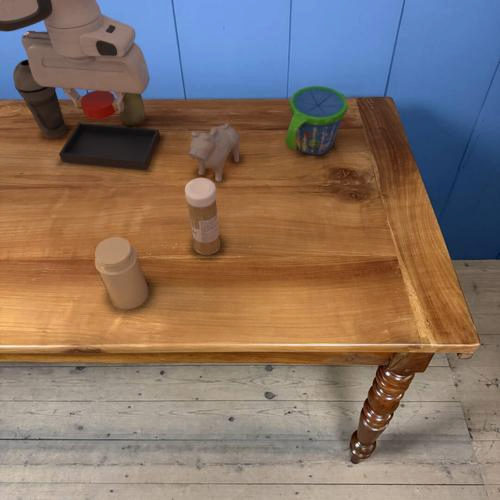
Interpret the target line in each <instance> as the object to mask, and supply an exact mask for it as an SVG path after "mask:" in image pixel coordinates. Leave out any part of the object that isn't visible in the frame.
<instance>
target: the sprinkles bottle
mask: <svg viewBox="0 0 500 500" xmlns="http://www.w3.org/2000/svg"><path fill="white" fill-rule="evenodd" d="M217 194H218V193H217V187H216V184H215V182H214V181H213V180H211V179H209V178H207V177H206V178H205V177H197V178H193V179H191V180H189V181H188V182H187V183H186V185H185V187H184V195H185V200H186V202H187V207H188V212H189V213H188V215H189V221H190V229H191V235H192V239H193V249H194V251H195V252H196V253H197V254H200V255H201V256H210V255H213V254H215V253H217V252H219V250H220V248H221V241H220V234H219V233H220V227H219V226H220V225H219V216H218V215H219V214H218V208H217V197H218V196H217Z"/></svg>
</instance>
